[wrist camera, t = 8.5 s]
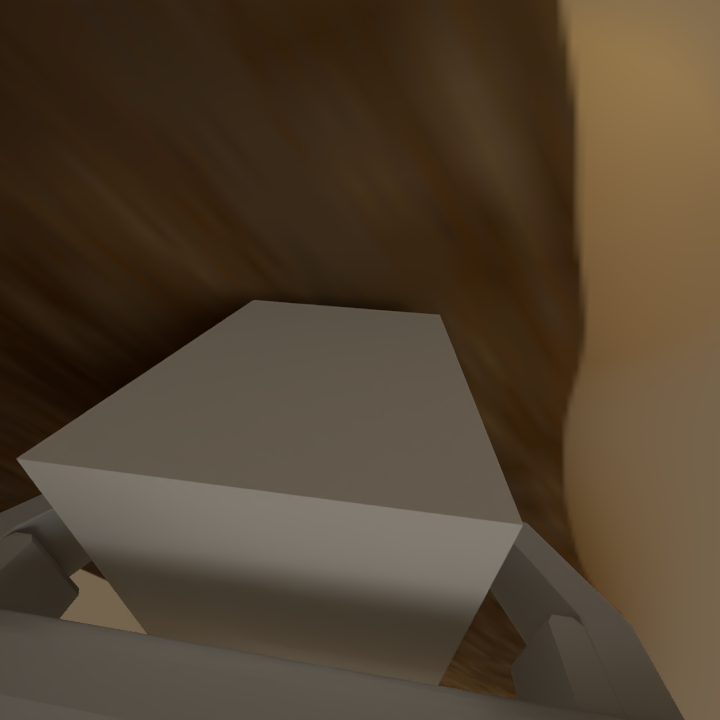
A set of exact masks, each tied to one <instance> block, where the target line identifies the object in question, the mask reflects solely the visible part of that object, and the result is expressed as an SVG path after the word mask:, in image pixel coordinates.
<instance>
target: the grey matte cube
mask: <svg viewBox="0 0 720 720" xmlns="http://www.w3.org/2000/svg"><path fill="white" fill-rule="evenodd" d="M17 460H18V462H19V463H20V464H21V466H22V467H23V468H24V470H25V471H26V472H27V474H28V475H29V477H30V478H31V479H32V481H33V482H34V483H35V485H36V486H37V487H38V489H39V490H40V491H41V493H42V494H43V495H44V497H45V498H46V499H47V501H48V502H49V503H50V505H51V506H52V507H53V509H54V510H55V511H56V513H57V514H58V515H59V517H60V518H61V519H62V521H63V522H64V523H65V525H66V526H67V527H68V529H69V530H70V531H71V533H72V534H73V535H74V537H75V538H76V539H77V541H78V542H79V543H80V545H81V546H82V547H83V549H84V550H85V551H86V553H87V554H88V555H89V557H90V558H91V559H92V561H93V562H94V563H95V565H96V566H97V567H98V569H99V570H100V571H101V573H102V574H103V575H104V577H105V578H106V579H107V581H108V582H109V584H110V585H111V586H112V587H113V589H114V590H115V592H116V593H117V594H118V596H119V597H120V598H121V599H122V601H123V602H124V604H125V605H126V606H127V608H128V609H129V610H130V611H131V613H132V614H133V615H134V617H135V618H136V620H137V621H138V622H139V623H140V625H141V626H142V628H143V629H144V630H145V631H146V633H147V634H148V635H153V636H159V637H165V638H170V639H176V640H182V641H187V642H193V643H199V644H204V645H210V646H216V647H221V648H227V649H233V650H238V651H244V652H250V653H255V654H261V655H267V656H272V657H278V658H284V659H289V660H295V661H301V662H306V663H312V664H318V665H323V666H329V667H335V668H340V669H346V670H352V671H357V672H363V673H369V674H374V675H380V676H386V677H392V678H397V679H403V680H409V681H414V682H420V683H426V684H431V685H437V686H438V684H439V682H440V680H441V678H442V676H443V674H444V673H445V671H446V669H447V667H448V665H449V663H450V661H451V659H452V658H453V656H454V654H455V652H456V650H457V648H458V646H459V644H460V643H461V641H462V639H463V637H464V635H465V633H466V631H467V629H468V628H469V626H470V624H471V622H472V620H473V618H474V616H475V614H476V613H477V611H478V609H479V607H480V605H481V603H482V601H483V599H484V598H485V596H486V594H487V592H488V590H489V588H490V586H491V584H492V583H493V581H494V579H495V577H496V575H497V573H498V571H499V569H500V568H501V566H502V564H503V562H504V560H505V558H506V556H507V554H508V553H509V551H510V549H511V547H512V545H513V543H514V541H515V539H516V538H517V536H518V534H519V532H520V530H521V528H522V526H523V523H522V521H521V518H520V516H519V513H518V511H517V508H516V506H515V503H514V501H513V498H512V496H511V493H510V491H509V488H508V486H507V483H506V480H505V478H504V475H503V473H502V470H501V468H500V465H499V463H498V460H497V458H496V455H495V453H494V450H493V448H492V445H491V443H490V440H489V438H488V435H487V433H486V430H485V428H484V425H483V423H482V420H481V418H480V415H479V413H478V410H477V407H476V405H475V402H474V400H473V397H472V395H471V392H470V390H469V387H468V385H467V382H466V380H465V377H464V375H463V372H462V370H461V367H460V365H459V362H458V360H457V357H456V355H455V352H454V350H453V347H452V345H451V342H450V340H449V337H448V334H447V332H446V329H445V327H444V324H443V322H442V319H441V317H440V315H435V314H422V313H410V312H397V311H385V310H372V309H360V308H347V307H335V306H322V305H309V304H297V303H284V302H272V301H259V300H253V301H251V302H250V303H248V304H247V305H245V306H244V307H242V308H241V309H239V310H238V311H236V312H235V313H233V314H232V315H230V316H229V317H227V318H226V319H224V320H223V321H221V322H220V323H218V324H217V325H215V326H214V327H212V328H211V329H209V330H208V331H206V332H205V333H203V334H202V335H200V336H199V337H197V338H196V339H194V340H193V341H191V342H190V343H188V344H187V345H185V346H184V347H182V348H181V349H179V350H178V351H176V352H175V353H174V354H172V355H171V356H169V357H168V358H166V359H165V360H163V361H162V362H160V363H159V364H157V365H156V366H154V367H153V368H151V369H150V370H148V371H147V372H145V373H144V374H142V375H141V376H139V377H138V378H136V379H135V380H133V381H132V382H130V383H129V384H127V385H126V386H124V387H123V388H121V389H120V390H118V391H117V392H115V393H114V394H112V395H111V396H109V397H108V398H106V399H105V400H103V401H102V402H100V403H99V404H97V405H96V406H94V407H93V408H91V409H90V410H88V411H87V412H85V413H84V414H82V415H81V416H79V417H78V418H76V419H75V420H73V421H72V422H70V423H69V424H67V425H66V426H64V427H63V428H61V429H60V430H58V431H57V432H55V433H54V434H52V435H51V436H49V437H48V438H46V439H45V440H43V441H42V442H40V443H39V444H38V445H36V446H35V447H33V448H32V449H30V450H29V451H27V452H26V453H24V454H23V455H21V456H20V457H18V458H17Z"/></svg>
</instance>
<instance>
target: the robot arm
mask: <svg viewBox="0 0 720 720" xmlns="http://www.w3.org/2000/svg"><path fill="white" fill-rule="evenodd" d="M522 523H523V526H522V528H521V530H520V532H519V534H518V536H517V538H516V539H515V541H514V543H513V545H512V547H511V549H510V551H509V553H508V554H507V556H506V558H505V560H504V562H503V564H502V566H501V568H500V569H499V571H498V573H497V575H496V577H495V579H494V581H493V583H492V584H491V586H490V590H491V591H492V593H493V594H494V596H495V597H496V599H497V600H498V602H499V603H500V605H501V606H502V608H503V609H504V611H505V612H506V614H507V615H508V617H509V618H510V620H511V621H512V623H513V625H514V626H515V628H516V629H517V631H518V632H519V634H520V635H521V637H522V638H523V640H524V641H525V643H526V644H527V646H526V647H525V648H524V650H523V651H522V652H521V653H520V655H519V656H518V657H517V658H516V660H515V661H514V662H513V664H512V665H511V667H510V668H511V673H512V677H513V681H514V685H515V689H516V693H517V698H518V700H516V699H511V698H505V697H499V696H494V695H488V694H482V693H477V692H471V691H465V690H460V689H454V688H448V687H443V686H437V685H431V684H426V683H420V682H414V681H409V680H403V679H397V678H392V677H386V676H380V675H374V674H369V673H363V672H357V671H352V670H346V669H340V668H335V667H329V666H323V665H318V664H312V663H306V662H301V661H295V660H289V659H284V658H278V657H272V656H267V655H261V654H255V653H250V652H244V651H238V650H233V649H227V648H221V647H216V646H210V645H204V644H199V643H193V642H187V641H182V640H176V639H170V638H165V637H159V636H153V635H148V634H141V633H136V632H131V631H124V630H119V629H114V628H107V627H102V626H97V625H91V624H85V623H80V622H74V621H68V620H62V619H59V618H60V617H61V616H62V615H63V613H64V612H65V611H66V610H67V608H68V607H69V606H70V605H71V603H72V602H73V601H74V600H75V598H76V597H77V596H78V593H79V588H78V587H77V586H76V585H75V583H74V582H73V581H72V580H71V579H70V578H69V577H70V576H71V575H72V574H74V573H75V572H76V571H78V570H79V569H81V568H82V567H83V566H85V565H86V564H87V563H89V562H90V561H91V560H92V559H91V558H90V557H89V555H88V554H87V553H86V551H85V550H84V549H83V547H82V546H81V545H80V543H79V542H78V541H77V539H76V538H75V537H74V535H73V534H72V533H71V531H70V530H69V529H68V527H67V526H66V525H65V523H64V522H63V521H62V519H61V518H60V517H59V515H58V514H57V513H56V511H55V510H54V509H53V507H52V506H51V505H50V503H49V502H48V501H47V499H46V498H45V497H44V495H43V494H41V495H39V496H37V497H35V498H33V499H30V500H28V501H26V502H24V503H22V504H19V505H17V506H15V507H13V508H11V509H8V510H6V511H4V512H2V513H0V720H684V718H683V716H682V715H681V713H680V711H679V709H678V707H677V705H676V704H675V702H674V700H673V698H672V697H671V695H670V693H669V691H668V689H667V688H666V686H665V684H664V682H663V680H662V679H661V677H660V675H659V673H658V671H657V670H656V668H655V666H654V664H653V663H652V661H651V659H650V657H649V655H648V654H647V652H646V650H645V648H644V647H643V645H642V643H641V641H640V639H639V638H638V636H637V634H636V632H635V630H634V629H633V627H632V625H631V624H630V623H629V622H628V621H627V620H626V619H625V618H624V617H623V616H622V615H621V614H620V613H619V612H618V611H617V610H616V609H615V608H614V607H612V606H611V605H610V604H609V603H608V602H607V601H606V600H605V599H604V598H603V597H602V596H601V595H600V594H599V593H598V592H597V591H596V590H595V589H594V588H593V587H592V586H591V585H590V584H589V583H588V582H587V581H586V580H585V579H584V578H583V577H582V576H581V575H580V574H579V573H578V572H577V571H575V570H574V569H573V568H572V567H571V566H570V565H569V564H568V563H567V562H566V561H565V560H564V559H563V558H562V557H561V556H560V555H559V554H558V553H557V552H556V551H555V550H554V549H553V548H552V547H551V546H550V545H549V544H548V543H547V542H546V541H545V540H544V539H543V538H542V537H541V536H540V535H538V534H537V533H536V532H535V531H534V530H533V529H532V528H531V527H530V526H529V525H528V524H527V523H524V522H522Z"/></svg>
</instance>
